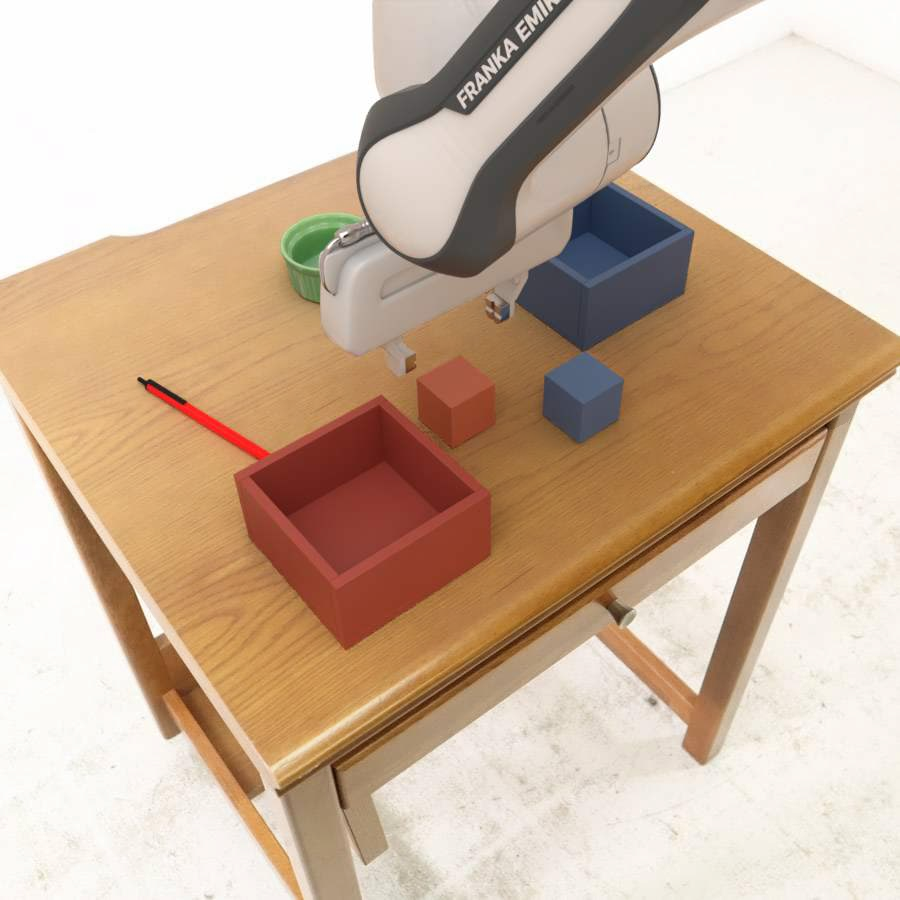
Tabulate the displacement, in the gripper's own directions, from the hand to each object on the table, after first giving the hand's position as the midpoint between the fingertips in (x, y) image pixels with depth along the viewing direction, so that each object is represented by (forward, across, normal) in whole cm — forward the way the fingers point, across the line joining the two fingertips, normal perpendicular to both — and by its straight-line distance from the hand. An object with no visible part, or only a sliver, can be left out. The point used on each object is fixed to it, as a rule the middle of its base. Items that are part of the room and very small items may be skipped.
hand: (451, 342), depth 80 cm
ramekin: (+9, +3, +22) cm, 24 cm away
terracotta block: (+8, 0, 0) cm, 8 cm away
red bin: (+8, -13, -6) cm, 16 cm away
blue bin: (+8, +20, +6) cm, 23 cm away
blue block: (+8, +8, -6) cm, 13 cm away
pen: (+9, -15, +11) cm, 21 cm away
